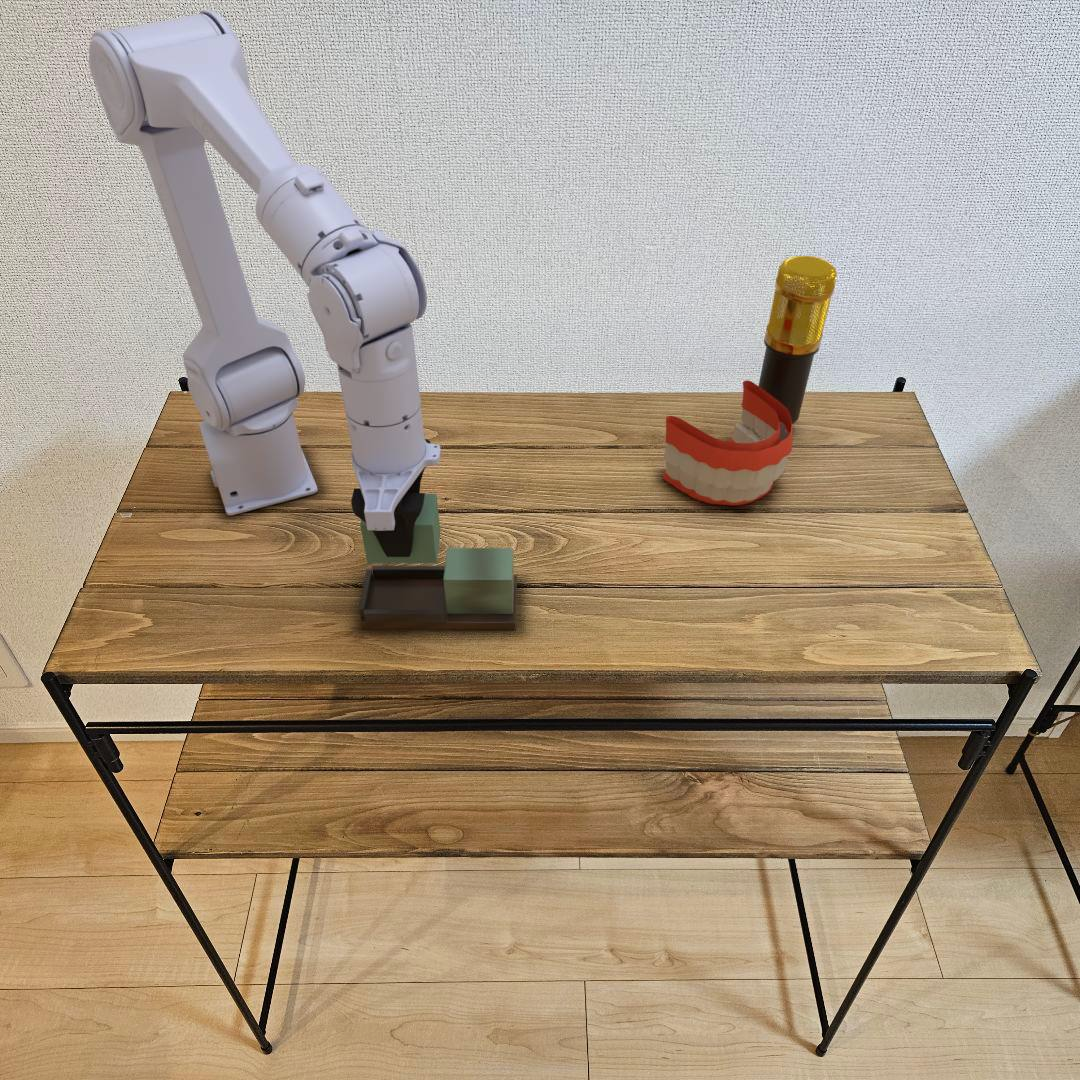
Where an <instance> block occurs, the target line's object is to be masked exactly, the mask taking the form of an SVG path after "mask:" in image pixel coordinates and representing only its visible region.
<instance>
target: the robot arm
mask: <svg viewBox="0 0 1080 1080" xmlns="http://www.w3.org/2000/svg"><path fill="white" fill-rule="evenodd" d="M88 53H89V54H88V65H89V70H90V73H91V76H92V79H93V82H94V85H95V87H96V90H97V92H98V95H99V98H100V101H101V103H102V107H103V110H104V112H105V115H106V117H107V121H108V123H109V125H110V127H111V129H112V131H113V132H114V134H115V137H116V140H117V142H119V143H120V144H125V145H133V146H138V148H139V150H140V153H141V155H142V157H143V160H144V162H145V164H146V167H147V169H148V173H149V175H150V179H151V181H152V184H153V187H154V190H155V192H156V195H157V198H158V201H159V204H160V207H161V209H162V212H163V213H162V214H163V215H164V218H165V221H166V224H167V227H168V230H169V233H170V235H171V239H172V242H173V244H174V247H175V250H176V252H177V256H178V259H179V262H180V265H181V267H182V270H183V272H184V276H185V279H186V281H187V284H188V287H189V290H190V293H191V295H192V299H193V301H194V304H195V307H196V310H197V313H198V316H199V319H200V322H201V324H202V326H201V328H200V330H199V331H198V332H197V334H196V335H195V336H194V338H193V339H192V340H191V342H190V343H189V344H188V346H187V347H186V348H185V350H184V352H183V353H182V358H183V366H184V369H185V372H186V376H187V388H188V390H189V394H190V396H191V399H192V401H193V403H194V406H195V408H196V409H197V411H198V413H199V414H200V415H201V417H202V418H203V421H201V422H198V425H199V431H200V433H201V437H202V440H203V444H204V446H205V449H206V454H207V456H208V459H209V462H210V465H211V469H212V470H210V471H209V472H210V473H209V474H210V476H211V480H212V483H213V485H214V488H218V490H219V491H218V492H219V494H220V497H221V500H222V503H223V507H224V510H225V513H226V515H227V516H234V515H238V514H242V513H246V512H250V511H254V510H258V509H262V508H265V507H268V506H269V507H270V506H273V505H276V504H280V503H285V502H288V501H292V500H295V499H299V498H304V497H307V496H310V495H314V494H316V493H318V491H319V489H318V486H317V483H316V481H315V478H314V476H313V473H312V470H311V469H310V466H309V464H308V462H307V458H306V456H305V454H304V451H303V449H302V446H301V442H300V437H299V433H298V428H297V424H296V420H295V419H296V418H295V416H294V411H295V410H297V409H298V408H299V403H298V399H297V398H299V397H301V396H302V395H303V394H304V392H305V387H306V375H305V372H304V368H303V366H302V363H301V361H300V359H299V356H297V354H296V352H295V351H294V348H293V346H292V343H291V341H290V338H289V335H288V334H287V332H286V331H285V330H284V329H283V328H282V327H281V326H280V325H278V324H277V323H275V322H273V321H271V320H269V319H266V318H263V317H260V316H257V313H256V310H255V307H254V304H253V301H252V298H251V294H250V291H249V288H248V284H247V281H246V279H245V274H244V272H243V271H244V270H243V268H242V265H241V262H240V259H239V255H238V252H237V249H236V245H235V242H234V240H233V236H232V233H231V230H230V229H231V228H230V226H229V223H228V220H227V217H226V213H225V210H224V207H223V204H222V200H221V197H220V194H219V189H218V187H217V184H216V181H215V178H214V173H213V171H212V167H211V165H210V161H209V159H208V155H207V151H206V148H205V143H206V141H207V142H208V143H209V144H210V146H211V147H212V148H213V149H214V150H215V151H216V152H217V153H218V154H219V155H220V156H221V158H222V159H224V161H225V162H226V163H227V164H228V165H229V166H230V167H231V168H232V169H233V170H234V171H235V172H236V173H237V175H238V176H240V178H241V179H242V180H243V181H244V182H245V183H246V185H248V187H249V188H250V189H251V190H252V191H253V192H254V194H256V195H257V197H256V203H255V215H256V219H257V221H258V223H259V224H260V225H261V227H262V228H263V230H264V231H265V232H266V233H267V235H268V236H269V237H270V239H271V240H272V241H273V242H274V244H275V245H276V246H277V247H278V249H279V250H280V252H281V253H282V254H283V255H284V257H285V258H286V259H287V261H288V262H289V263H290V264H291V266H292V267H293V268H294V270H295V271H296V272H297V274H298V275H299V276H300V278H301V279H302V280H303V281H304V283H305V284H306V286H307V287H308V292H307V293H306V296H307V301H308V303H309V307H310V310H311V312H312V314H313V317H314V319H315V321H316V323H317V325H318V327H319V329H320V331H321V333H322V336H323V340H324V345H325V350H326V351H327V352H328V356H329V358H330V360H332V361H333V362H334V363H335V364H336V368H337V373H338V379H339V384H340V391H341V395H342V401H343V407H344V413H345V417H346V423H347V430H348V434H349V440H350V446H351V451H350V460H351V465H352V469H353V471H354V475H355V477H356V480H357V483H358V486H359V488H354V489H353V492H352V496H351V499H350V504H351V505H350V506H351V509H352V512H353V514H354V516H356V517H357V518H359V519H360V521H361V520H363V521H364V522H365V523H366V525H367V530H372V531H373V533H374V535H375V536H376V538H377V540H378V542H379V544H380V546H381V548H382V550H383V551H384V553H385V555H386V556H387V557H410V555H411V552H412V546H413V537H414V525H415V522H416V520H417V518H418V516H419V515H420V513H421V510H422V508H423V503H424V496H425V494H426V493H425V492H421V482H422V479H423V475H424V472H425V469H426V468H427V467H431V466H432V467H433V466H437V465H440V463H441V455H442V448H441V446H440V445H439V444H438V443H432V442H431V441H430V440H429V439H427V438H425V430H424V422H423V413H422V405H421V404H422V403H421V394H420V393H421V392H420V383H419V375H418V366H417V365H418V364H417V356H416V347H415V338H414V329H413V325H412V323H413V322H415V321H416V320H418V319H421V318H422V317H423V316H424V314H425V313H426V310H427V305H428V293H427V288H426V283H425V280H424V277H423V274H422V271H421V270H420V268H419V265H418V264H417V262H416V260H415V259H414V257H413V256H412V255H411V253H410V252H409V249H408V248H407V247H406V246H405V245H404V244H403V243H402V242H400V241H399V240H397V239H396V238H392V237H387V236H385V235H384V234H383V233H382V231H381V230H378V229H374V230H369V229H368V228H367V226H366V225H365V224H364V223H363V222H362V220H361V219H360V218H359V216H358V215H357V214H356V212H355V211H354V210H353V209H352V207H350V205H349V204H348V202H347V201H346V199H344V197H343V196H342V195H341V193H340V192H339V191H338V189H336V187H335V186H334V185H333V184H332V182H331V181H330V180H329V179H328V177H327V176H326V175H325V173H324V172H323V171H322V170H321V169H319V168H318V167H316V166H314V165H310V164H298V163H297V161H295V159H294V158H293V156H292V154H291V152H290V151H289V149H288V148H287V146H286V145H285V143H284V142H283V140H282V139H281V137H280V135H279V134H278V132H277V131H276V129H275V128H274V126H273V125H272V124H271V122H270V120H269V118H268V117H267V115H266V114H265V113H264V111H263V110H262V108H261V107H260V105H259V104H258V102H257V100H256V99H255V98H254V96H253V94H252V93H251V91H250V90H251V88H250V77H249V71H248V67H247V62H246V58H245V55H244V51H243V48H242V45H241V43H240V41H239V39H238V36H237V35H236V33H235V31H234V30H233V28H232V27H231V25H230V24H229V22H227V21H226V20H225V19H224V18H223V17H222V15H220V14H219V13H218V12H216V10H215V11H214V10H212V9H205V10H202V11H200V12H198V13H197V14H191V15H185V16H181V17H174V18H170V19H165V20H159V21H154V22H148V23H143V24H138V25H137V24H136V25H132V26H128V27H127V26H126V27H122V28H116V29H111V30H107V29H106V28H105V29H104V28H102V29H98V30H95V31H94V32H93V33H92V36H91V39H90V43H89V48H88Z"/></svg>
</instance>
